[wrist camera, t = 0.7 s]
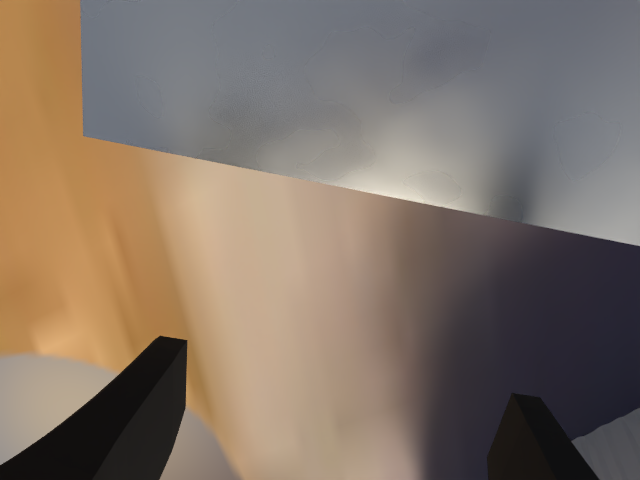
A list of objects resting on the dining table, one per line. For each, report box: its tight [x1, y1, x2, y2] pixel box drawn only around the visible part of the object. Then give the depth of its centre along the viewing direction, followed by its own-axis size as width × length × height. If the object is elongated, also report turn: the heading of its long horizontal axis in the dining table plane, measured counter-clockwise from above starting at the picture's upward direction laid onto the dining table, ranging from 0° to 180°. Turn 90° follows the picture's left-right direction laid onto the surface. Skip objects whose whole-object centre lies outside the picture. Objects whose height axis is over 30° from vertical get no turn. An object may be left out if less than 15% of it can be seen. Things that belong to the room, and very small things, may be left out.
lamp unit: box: [80, 0, 640, 246], centre depth 14 cm, size 16×7×7 cm, turn 80°
